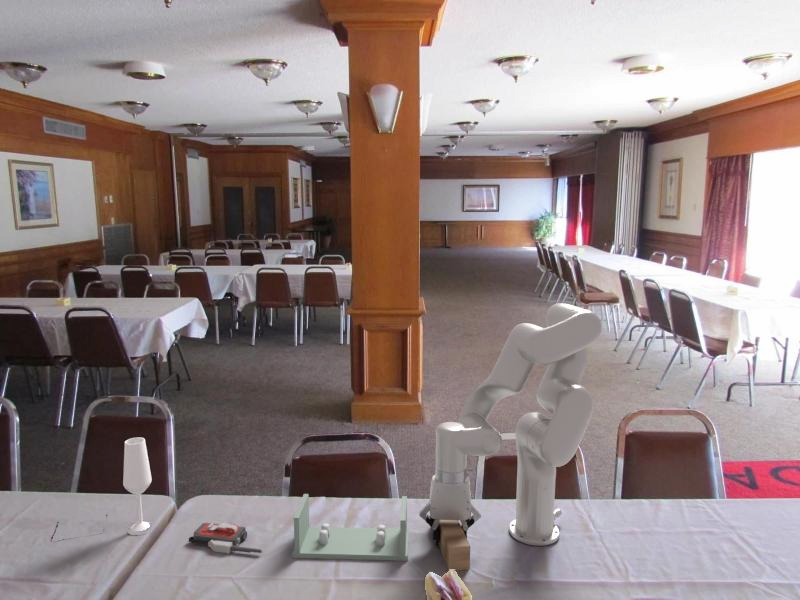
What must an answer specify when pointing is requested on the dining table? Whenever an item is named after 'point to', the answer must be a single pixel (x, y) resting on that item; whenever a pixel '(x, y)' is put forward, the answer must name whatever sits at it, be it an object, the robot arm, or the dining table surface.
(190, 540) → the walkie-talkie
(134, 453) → the champagne flute
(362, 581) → the dining table surface
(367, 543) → the shelf rack
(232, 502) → the dining table surface
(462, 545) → the wooden block
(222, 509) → the dining table surface
